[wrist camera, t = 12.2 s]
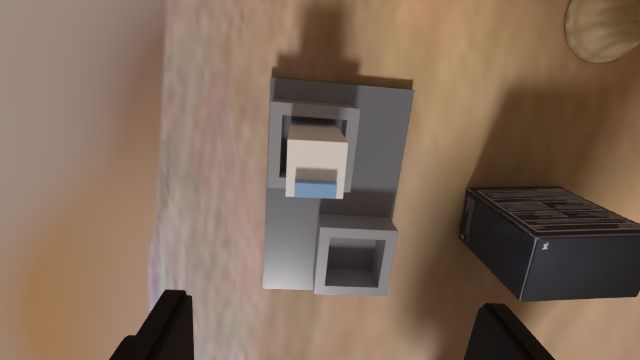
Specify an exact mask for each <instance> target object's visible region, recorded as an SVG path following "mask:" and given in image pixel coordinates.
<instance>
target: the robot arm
mask: <svg viewBox="0 0 640 360" xmlns="http://www.w3.org/2000/svg"><path fill="white" fill-rule="evenodd" d="M109 360H194V342H193V310H192V296H190V295H186V291H185V290H165V291H164V292H163V294H162V295H161V297H160V298H159V300H158V301H157V303H156V305H155V306H154V308H153V309H152V311H151V312H150V314H149V316H148V317H147V319H146V320H145V322H144V323H143V325H142V327H141V328H140V330H139V331H138V333H137V334H136V335H129V336H127V337H125V338H124V339H123V341H122V342H121V343H120V345H119V346H118V347H117V349H116V351H115V352H114V353H113V355H112V356H111V358H110V359H109ZM464 360H555V359H554V358H553V357H552V356H551V355H550V353H549V352H548V351H547V350H546V349H545V348H544V347H543V346H542V345H541V343H540V342H539V341H538V340H537V339H536V338H535V337H534V336H533V334H532V333H531V332H530V331H529V330H528V329H527V328H526V327H525V326H524V324H523V323H522V322H521V321H520V320H519V319H518V318H517V317H516V316H515V314H514V313H513V312H512V311H511V310H510V309H509V308H508V307H507V306H506V305H505V304H496V303H486V304H484V305H483V307H482V308H480V309H479V310H478V313H477V317H476V320H475V323H474V327H473V330H472V334H471V337H470V341H469V344H468V347H467V351H466V354H465V358H464Z"/></svg>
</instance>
